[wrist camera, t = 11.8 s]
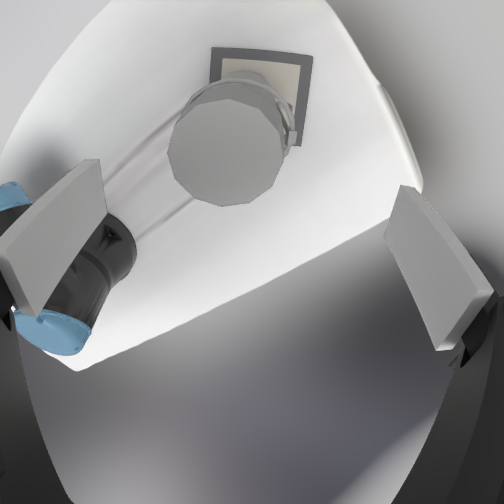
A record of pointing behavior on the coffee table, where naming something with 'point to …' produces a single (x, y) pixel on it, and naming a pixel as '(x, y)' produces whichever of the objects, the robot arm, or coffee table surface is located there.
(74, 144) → the coffee table surface
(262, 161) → the water bottle
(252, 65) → the coaster mat
